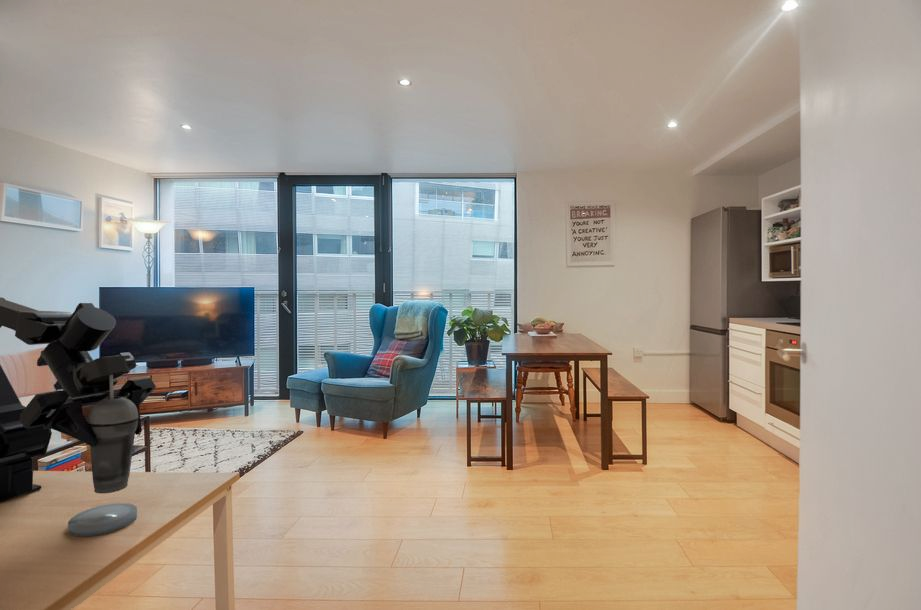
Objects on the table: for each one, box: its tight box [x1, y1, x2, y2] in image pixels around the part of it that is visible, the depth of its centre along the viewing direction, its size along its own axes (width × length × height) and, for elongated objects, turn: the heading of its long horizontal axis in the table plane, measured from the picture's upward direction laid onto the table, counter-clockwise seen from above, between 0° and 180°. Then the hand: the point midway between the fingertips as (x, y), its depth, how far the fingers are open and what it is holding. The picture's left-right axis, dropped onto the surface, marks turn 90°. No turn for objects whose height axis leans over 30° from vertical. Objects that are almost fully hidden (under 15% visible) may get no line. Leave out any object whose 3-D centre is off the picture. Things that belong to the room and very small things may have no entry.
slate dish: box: [67, 502, 138, 538], centre depth 75 cm, size 9×9×1 cm
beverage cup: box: [86, 375, 139, 495], centre depth 77 cm, size 7×7×20 cm
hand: (118, 438), depth 76 cm, fingers closed on beverage cup, 7 cm apart
